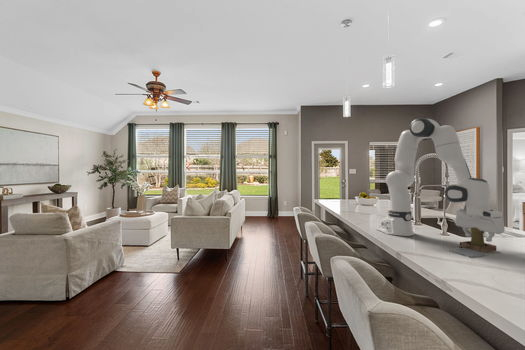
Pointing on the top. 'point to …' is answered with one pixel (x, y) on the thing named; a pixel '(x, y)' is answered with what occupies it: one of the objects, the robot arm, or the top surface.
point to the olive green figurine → (477, 237)
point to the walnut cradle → (476, 248)
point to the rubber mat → (467, 252)
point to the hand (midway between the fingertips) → (478, 238)
